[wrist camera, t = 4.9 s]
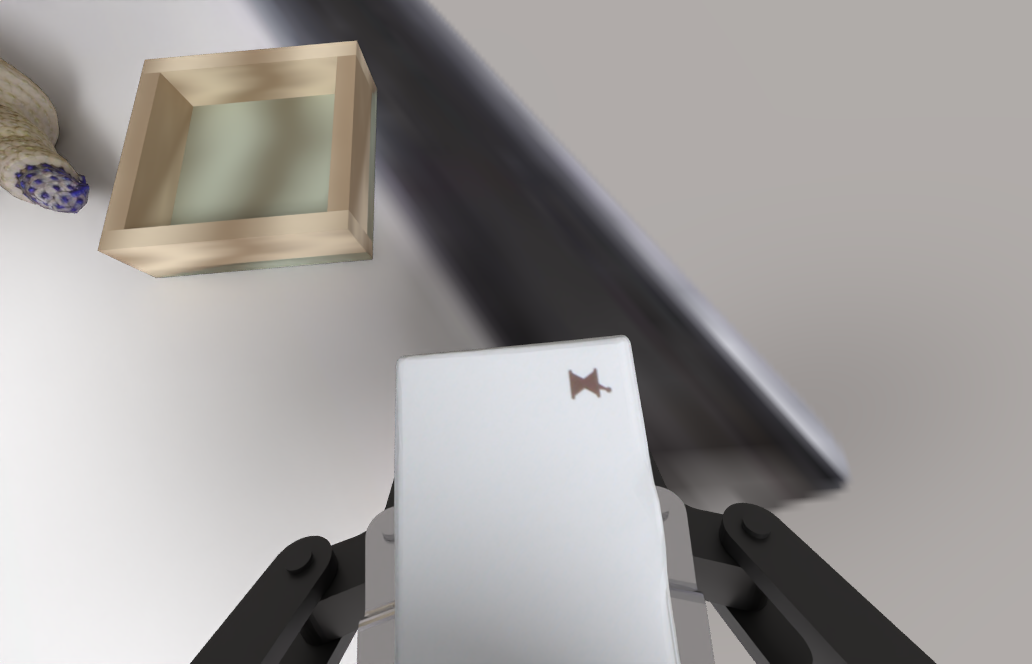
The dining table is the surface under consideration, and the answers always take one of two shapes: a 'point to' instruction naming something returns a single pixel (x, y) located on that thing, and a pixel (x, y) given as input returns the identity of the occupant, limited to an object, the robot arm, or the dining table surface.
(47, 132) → the decorative bottle
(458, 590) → the skincare box
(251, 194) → the pocket tray
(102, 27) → the dining table surface
